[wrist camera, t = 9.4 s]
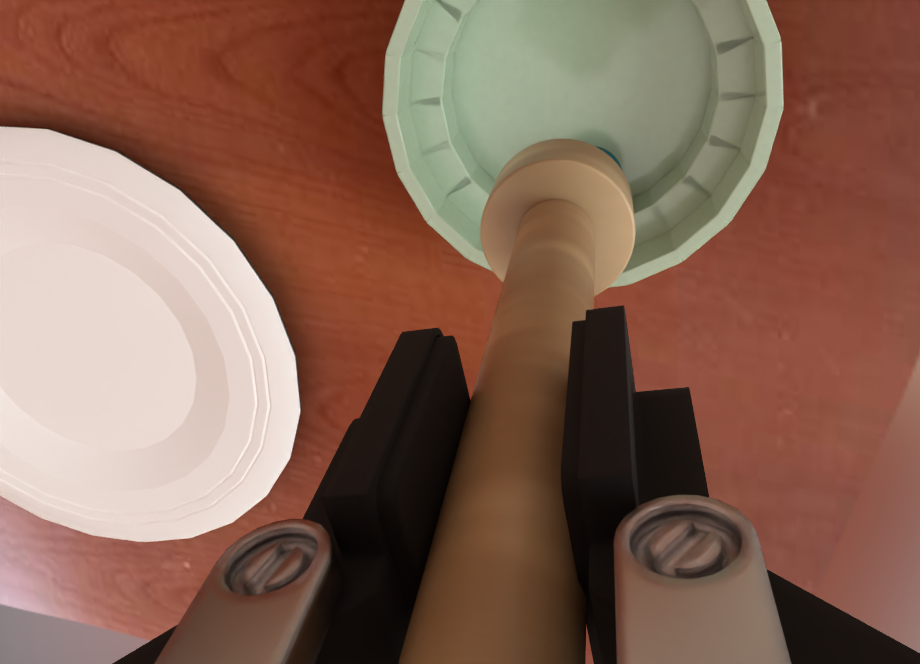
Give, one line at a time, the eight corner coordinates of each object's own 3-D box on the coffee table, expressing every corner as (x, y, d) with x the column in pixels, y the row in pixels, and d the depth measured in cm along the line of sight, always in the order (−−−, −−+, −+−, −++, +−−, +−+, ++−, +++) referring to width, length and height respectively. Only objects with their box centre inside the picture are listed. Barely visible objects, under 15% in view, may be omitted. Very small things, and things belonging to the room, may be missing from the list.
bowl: (749, -154, 28) (776, -167, 24) (765, 220, 34) (789, 265, 30) (374, -62, 31) (337, -58, 27) (450, 264, 38) (430, 310, 33)
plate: (-174, 73, 38) (-209, 80, 36) (324, 170, 36) (311, 182, 35) (-77, 474, 50) (-100, 493, 49) (300, 561, 48) (290, 584, 47)
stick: (623, 126, 19) (671, 595, 6) (640, 264, 20) (706, 882, 7) (477, 150, 20) (229, 609, 7) (504, 281, 21) (343, 864, 8)
